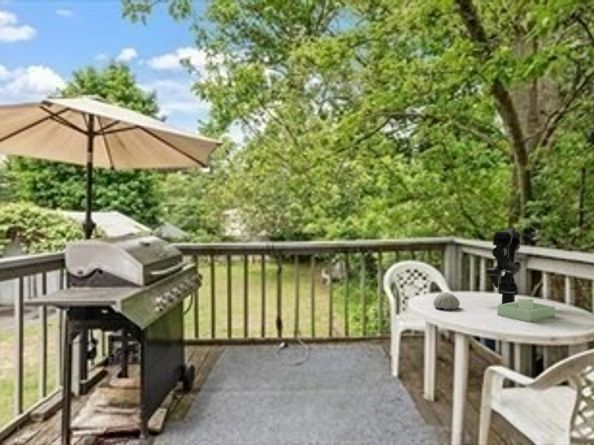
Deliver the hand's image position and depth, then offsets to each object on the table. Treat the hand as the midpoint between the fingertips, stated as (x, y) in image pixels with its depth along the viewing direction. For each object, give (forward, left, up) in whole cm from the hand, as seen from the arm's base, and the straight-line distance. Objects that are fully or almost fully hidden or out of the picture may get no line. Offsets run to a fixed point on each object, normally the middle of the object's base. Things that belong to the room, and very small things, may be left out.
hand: (502, 286), depth 291 cm
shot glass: (+2, +15, -11) cm, 19 cm away
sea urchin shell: (+18, -21, -12) cm, 30 cm away
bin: (+2, +15, -12) cm, 19 cm away
